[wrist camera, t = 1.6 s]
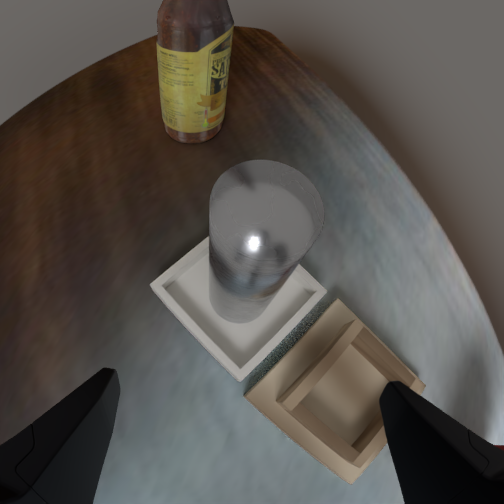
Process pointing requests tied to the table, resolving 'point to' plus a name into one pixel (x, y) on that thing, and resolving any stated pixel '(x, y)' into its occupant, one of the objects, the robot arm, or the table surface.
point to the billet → (258, 235)
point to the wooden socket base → (333, 391)
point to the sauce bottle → (193, 66)
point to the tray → (227, 333)
